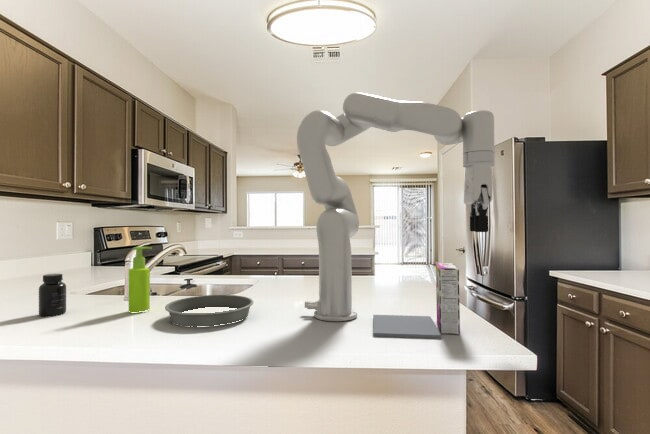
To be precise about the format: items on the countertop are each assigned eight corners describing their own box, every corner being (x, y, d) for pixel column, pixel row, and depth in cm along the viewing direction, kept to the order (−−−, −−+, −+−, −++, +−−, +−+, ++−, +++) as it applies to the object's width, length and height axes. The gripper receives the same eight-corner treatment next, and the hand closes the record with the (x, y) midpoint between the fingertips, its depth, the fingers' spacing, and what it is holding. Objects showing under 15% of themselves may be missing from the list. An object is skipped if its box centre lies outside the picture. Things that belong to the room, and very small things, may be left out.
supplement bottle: (33, 315, 114) (33, 275, 114) (56, 310, 120) (56, 272, 121) (48, 318, 112) (48, 276, 112) (71, 312, 118) (71, 273, 118)
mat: (373, 336, 93) (373, 332, 93) (373, 317, 111) (373, 314, 111) (441, 338, 91) (441, 335, 91) (430, 319, 109) (430, 316, 109)
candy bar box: (435, 322, 106) (435, 262, 106) (454, 323, 105) (454, 262, 105) (439, 334, 95) (438, 267, 95) (460, 335, 94) (460, 268, 94)
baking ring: (144, 326, 103) (144, 309, 103) (198, 306, 127) (198, 292, 127) (226, 333, 97) (226, 315, 97) (267, 311, 120) (267, 296, 120)
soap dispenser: (156, 309, 121) (156, 246, 121) (135, 314, 115) (135, 247, 116) (145, 307, 124) (145, 245, 125) (124, 311, 119) (124, 247, 119)
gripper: (456, 165, 108) (456, 230, 108) (471, 155, 91) (471, 232, 91) (484, 164, 107) (484, 230, 107) (504, 154, 90) (505, 232, 90)
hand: (478, 230), depth 99 cm, fingers open, 3 cm apart
